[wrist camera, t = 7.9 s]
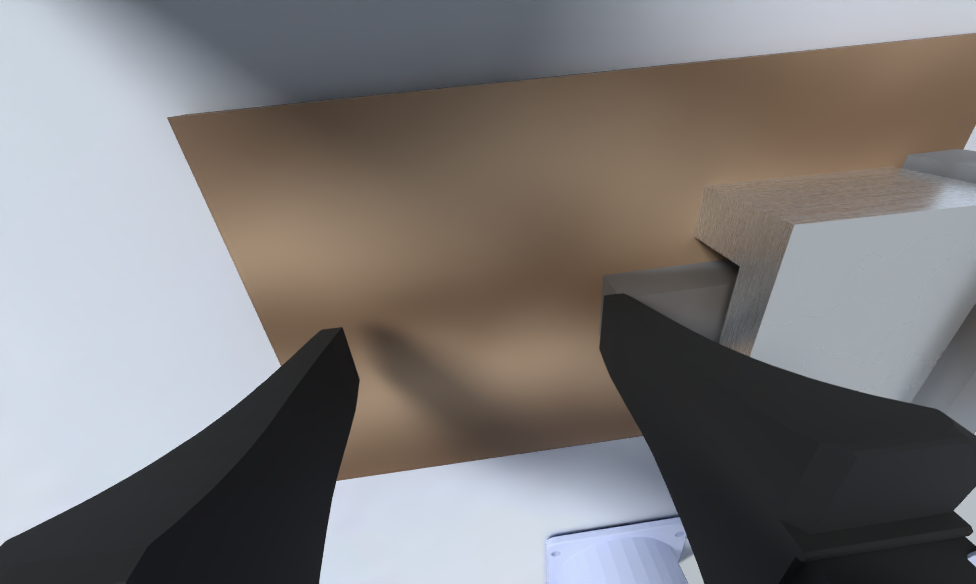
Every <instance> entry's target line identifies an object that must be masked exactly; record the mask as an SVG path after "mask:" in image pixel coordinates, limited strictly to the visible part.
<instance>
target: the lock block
mask: <svg viewBox="0 0 976 584" xmlns="http://www.w3.org/2000/svg"><path fill="white" fill-rule="evenodd" d="M694 237H696V238H697V239H699V240H700V241H702V242H703V243H705V244H706V245H708V246H709V247H711V248H712V249H714V250H715V251H717V252H719V253H720V254H722V255H723V256H725V257H726V258H728V259H729V260H731V261H732V262H734V263H735V264H737V265H738V266H740V268H739V272H738V275H737V279H736V282H735V286H734V289H733V293H732V296H731V300H730V304H729V307H728V311H727V314H726V318H725V321H724V325H723V329H722V332H721V336H720V339H719V344H721V345H723V346H725V347H728V348H730V349H732V350H735V351H737V352H739V353H742V354H744V355H747V356H749V357H752V358H754V359H757V360H759V361H762V362H765V363H767V364H770V365H773V366H776V367H779V368H782V369H785V370H788V371H791V372H794V373H796V374H799V375H802V376H806V377H809V378H812V379H816V380H819V381H822V382H826V383H829V384H833V385H837V386H840V387H844V388H848V389H851V390H855V391H859V392H863V393H867V394H871V395H875V396H880V397H884V398H889V399H894V400H898V401H903V402H907V403H911V401H912V400H913V398H914V397H915V395H916V394H917V392H918V391H919V389H920V387H921V386H922V384H923V383H924V381H925V380H926V378H927V377H928V375H929V374H930V372H931V371H932V369H933V368H934V366H935V364H936V363H937V361H938V360H939V358H940V357H941V355H942V354H943V352H944V351H945V349H946V348H947V346H948V344H949V343H950V341H951V340H952V338H953V337H954V335H955V334H956V332H957V331H958V329H959V328H960V326H961V325H962V323H963V321H964V320H965V318H966V317H967V315H968V314H969V312H970V311H971V309H972V308H973V306H974V305H975V303H976V184H975V183H970V182H965V181H961V180H956V179H951V178H946V177H942V176H937V175H932V174H927V173H922V172H918V171H913V170H908V169H903V168H898V167H885V168H875V169H865V170H855V171H846V172H836V173H826V174H816V175H806V176H796V177H786V178H776V179H766V180H757V181H747V182H737V183H727V184H717V185H707V186H704V189H703V194H702V199H701V204H700V209H699V214H698V219H697V223H696V228H695V233H694Z"/></svg>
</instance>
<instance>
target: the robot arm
mask: <svg viewBox="0 0 976 584" xmlns="http://www.w3.org/2000/svg"><path fill="white" fill-rule="evenodd" d="M599 350H600V353H601V355H602V358H603V361H604V363H605V366H606V368H607V371H608V373H609V375H610V378H611V380H612V381H613V383H614V385H615V387H616V389H617V390H618V392H619V394H620V396H621V398H622V399H623V401H624V403H625V405H626V406H627V408H628V410H629V412H630V413H631V415H632V417H633V419H634V420H635V422H636V424H637V426H638V427H639V429H640V431H641V433H642V434H643V436H644V438H645V440H646V442H647V444H648V446H649V448H650V450H651V452H652V454H653V456H654V458H655V460H656V463H657V465H658V467H659V469H660V472H661V474H662V476H663V479H664V481H665V483H666V485H667V488H668V490H669V493H670V495H671V498H672V500H673V502H674V505H675V507H676V510H677V512H678V515H679V517H677V518H670V519H664V520H658V521H651V522H645V523H639V524H632V525H626V526H620V527H613V528H607V529H600V530H594V531H588V532H581V533H575V534H569V535H562V536H556V537H552V538H549V539H548V540H547V541H546V580H547V584H688V582H687V580H686V578H685V576H684V574H683V572H682V569H681V567H680V565H679V563H678V562H679V559H680V556H681V552H682V549H683V546H684V543H685V539H686V536H687V538H688V540H689V543H690V545H691V548H692V551H693V553H694V556H695V558H696V561H697V564H698V567H699V569H700V572H701V575H702V578H703V581H704V584H976V546H975V545H974V544H973V543H972V542H970V541H969V540H968V539H967V538H966V537H965V536H969V535H970V534H972V532H973V530H972V527H971V526H970V525H969V524H968V523H967V522H966V521H965V520H963V519H962V518H961V517H960V516H959V515H958V514H956V513H955V512H954V511H953V510H954V509H955V508H956V507H957V506H958V505H959V504H960V503H961V502H962V501H963V500H964V499H965V497H966V496H967V495H968V494H969V493H970V492H971V491H972V490H973V489H974V488H975V487H976V435H974V434H973V433H971V432H970V431H968V430H967V429H966V428H964V427H963V426H961V425H960V424H959V423H957V422H956V421H954V420H953V419H952V418H950V417H949V416H947V415H946V414H944V413H943V412H941V411H940V410H938V409H935V408H930V407H926V406H921V405H916V404H912V403H907V402H903V401H898V400H894V399H889V398H884V397H880V396H875V395H871V394H867V393H863V392H859V391H855V390H851V389H848V388H844V387H840V386H837V385H833V384H829V383H826V382H822V381H819V380H816V379H812V378H809V377H806V376H802V375H799V374H796V373H794V372H791V371H788V370H785V369H782V368H779V367H776V366H773V365H770V364H767V363H765V362H762V361H759V360H757V359H754V358H752V357H749V356H747V355H744V354H742V353H739V352H737V351H735V350H732V349H730V348H728V347H725V346H723V345H721V344H719V343H717V342H714V341H712V340H710V339H708V338H706V337H704V336H702V335H700V334H698V333H696V332H694V331H692V330H690V329H688V328H686V327H685V326H683V325H681V324H679V323H677V322H675V321H673V320H672V319H670V318H668V317H666V316H664V315H663V314H661V313H659V312H657V311H656V310H654V309H652V308H650V307H649V306H647V305H645V304H643V303H642V302H640V301H638V300H636V299H634V298H633V297H631V296H629V295H627V294H624V293H621V294H613V295H604V300H603V311H602V322H601V334H600V345H599ZM359 382H360V379H359V376H358V373H357V370H356V366H355V363H354V360H353V357H352V354H351V351H350V348H349V345H348V342H347V339H346V336H345V333H344V330H343V327H339V328H330V329H322V330H320V331H319V332H318V333H317V334H316V335H314V336H313V337H312V338H311V339H310V340H309V341H308V342H307V343H306V344H305V345H304V346H303V347H301V348H300V349H299V350H298V351H297V352H296V353H295V354H294V355H293V356H292V357H291V358H290V359H289V360H288V361H286V362H285V363H284V364H283V365H282V366H281V367H280V368H279V369H278V370H277V371H276V372H275V373H274V374H272V375H271V376H270V377H269V378H268V379H267V380H266V381H264V382H263V383H262V384H261V385H260V386H258V387H257V388H256V389H255V390H254V391H253V392H251V393H250V394H249V395H248V396H247V397H246V398H244V399H243V400H242V401H241V402H240V403H238V404H237V405H236V406H235V407H233V408H232V409H231V410H229V411H228V412H227V413H226V414H224V415H223V416H222V417H220V418H219V419H217V420H216V421H215V422H213V423H212V424H211V425H209V426H208V427H206V428H205V429H204V430H202V431H201V432H199V433H198V434H196V435H195V436H194V437H192V438H190V439H189V440H187V441H186V442H184V443H183V444H181V445H180V446H178V447H177V448H175V449H173V450H172V451H170V452H169V453H167V454H166V455H164V456H163V457H161V458H160V459H158V460H156V461H155V462H153V463H152V464H150V465H148V466H147V467H145V468H143V469H142V470H140V471H138V472H136V473H135V474H133V475H131V476H130V477H128V478H126V479H125V480H123V481H121V482H119V483H117V484H116V485H114V486H112V487H110V488H108V489H107V490H105V491H103V492H101V493H99V494H98V495H96V496H94V497H92V498H90V499H88V500H86V501H85V502H83V503H81V504H79V505H77V506H75V507H73V508H71V509H69V510H67V511H65V512H63V513H61V514H59V515H57V516H55V517H53V518H51V519H49V520H47V521H45V522H43V523H41V524H39V525H37V526H35V527H33V528H31V529H29V530H27V531H25V532H23V533H21V534H19V535H17V536H15V537H13V538H11V539H9V540H7V541H6V542H4V543H3V544H2V545H1V546H0V584H319V579H320V571H321V565H322V558H323V551H324V544H325V538H326V531H327V526H328V520H329V514H330V508H331V502H332V497H333V493H334V488H335V484H336V480H337V477H338V473H339V470H340V466H341V462H342V459H343V455H344V452H345V448H346V445H347V441H348V437H349V434H350V430H351V426H352V423H353V419H354V415H355V411H356V405H357V398H358V390H359Z"/></svg>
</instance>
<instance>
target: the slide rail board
mask: <svg viewBox="0 0 976 584" xmlns="http://www.w3.org/2000/svg"><path fill="white" fill-rule="evenodd" d="M167 119H168V121H169V123H170V125H171V127H172V130H173V132H174V134H175V136H176V138H177V140H178V143H179V145H180V147H181V149H182V151H183V153H184V156H185V158H186V160H187V162H188V164H189V166H190V169H191V171H192V173H193V175H194V177H195V180H196V182H197V184H198V186H199V188H200V190H201V193H202V195H203V197H204V199H205V201H206V203H207V206H208V208H209V210H210V212H211V214H212V217H213V219H214V221H215V223H216V225H217V227H218V230H219V232H220V234H221V236H222V238H223V240H224V243H225V245H226V247H227V249H228V251H229V254H230V256H231V258H232V260H233V262H234V264H235V267H236V269H237V271H238V273H239V275H240V277H241V280H242V282H243V284H244V286H245V288H246V291H247V293H248V295H249V297H250V299H251V301H252V304H253V306H254V308H255V310H256V312H257V314H258V317H259V319H260V321H261V323H262V325H263V328H264V330H265V332H266V334H267V336H268V338H269V341H270V343H271V345H272V347H273V349H274V351H275V354H276V356H277V358H278V360H279V362H280V365H281V366H282V365H283V364H284V363H285V362H286V361H288V360H289V359H290V358H291V357H292V356H293V355H294V354H295V353H296V352H297V351H298V350H299V349H300V348H301V347H303V346H304V345H305V344H306V343H307V342H308V341H309V340H310V339H311V338H312V337H313V336H314V335H316V334H317V333H318V332H319V331H320V330H322V329H330V328H339V327H343V330H344V333H345V336H346V339H347V342H348V345H349V348H350V351H351V354H352V357H353V360H354V363H355V366H356V370H357V373H358V376H359V379H360V382H359V390H358V398H357V405H356V411H355V415H354V419H353V423H352V426H351V430H350V434H349V437H348V441H347V445H346V448H345V452H344V455H343V459H342V462H341V466H340V470H339V473H338V477H337V480H336V481H339V480H346V479H352V478H359V477H366V476H373V475H380V474H386V473H393V472H400V471H407V470H414V469H420V468H427V467H434V466H441V465H448V464H454V463H461V462H468V461H475V460H482V459H488V458H495V457H502V456H509V455H516V454H523V453H529V452H536V451H543V450H550V449H557V448H563V447H570V446H577V445H584V444H591V443H597V442H604V441H611V440H618V439H625V438H631V437H638V436H643V434H642V433H641V431H640V429H639V427H638V426H637V424H636V422H635V420H634V419H633V417H632V415H631V413H630V412H629V410H628V408H627V406H626V405H625V403H624V401H623V399H622V398H621V396H620V394H619V392H618V390H617V389H616V387H615V385H614V383H613V381H612V380H611V378H610V375H609V373H608V371H607V368H606V366H605V363H604V361H603V358H602V355H601V353H600V350H599V345H600V334H601V322H602V311H603V300H604V295H613V294H621V293H624V294H627V295H629V296H631V297H633V298H634V299H636V300H638V301H640V302H642V303H643V304H645V305H647V306H649V307H650V308H652V309H654V310H656V311H657V312H659V313H661V314H663V315H664V316H666V317H668V318H670V319H672V320H673V321H675V322H677V323H679V324H681V325H683V326H685V327H686V328H688V329H690V330H692V331H694V332H696V333H698V334H700V335H702V336H704V337H706V338H708V339H710V340H712V341H714V342H717V343H719V339H720V336H721V332H722V329H723V325H724V321H725V318H726V314H727V311H728V307H729V304H730V300H731V296H732V293H733V289H734V286H735V282H736V279H737V275H738V272H739V268H740V266H738V265H737V264H735V263H734V262H732V261H731V260H729V259H728V258H726V257H725V256H723V255H722V254H720V253H719V252H717V251H715V250H714V249H712V248H711V247H709V246H708V245H706V244H705V243H703V242H702V241H700V240H699V239H697V238H696V237H694V233H695V228H696V223H697V219H698V214H699V209H700V204H701V199H702V194H703V189H704V186H707V185H717V184H727V183H737V182H747V181H757V180H766V179H776V178H786V177H796V176H806V175H816V174H826V173H836V172H846V171H855V170H865V169H875V168H885V167H898V168H903V169H908V170H913V171H918V172H922V173H927V174H932V175H937V176H942V177H946V178H951V179H956V180H961V181H965V182H970V183H975V184H976V152H975V151H969V150H963V149H964V147H965V145H966V143H967V141H968V139H969V137H970V135H971V133H972V131H973V129H974V127H975V125H976V33H972V34H962V35H952V36H942V37H933V38H923V39H913V40H904V41H894V42H884V43H875V44H865V45H855V46H845V47H836V48H826V49H816V50H807V51H797V52H787V53H778V54H768V55H758V56H748V57H739V58H729V59H719V60H710V61H700V62H690V63H681V64H671V65H661V66H651V67H642V68H632V69H622V70H613V71H603V72H593V73H584V74H574V75H564V76H555V77H545V78H535V79H525V80H516V81H506V82H496V83H487V84H477V85H467V86H458V87H448V88H438V89H428V90H419V91H409V92H399V93H390V94H380V95H370V96H361V97H351V98H341V99H331V100H322V101H312V102H302V103H293V104H283V105H273V106H264V107H254V108H244V109H234V110H225V111H215V112H205V113H196V114H186V115H180V116H174V117H168V118H167ZM911 403H912V404H916V405H921V406H926V407H930V408H935V409H938V410H940V411H941V412H943V413H944V414H946V415H947V416H949V417H950V418H952V419H953V420H954V421H956V422H957V423H959V424H960V425H961V426H963V427H964V428H966V429H967V430H968V431H970V432H971V433H973V434H974V433H975V432H976V303H975V305H974V306H973V308H972V309H971V311H970V312H969V314H968V315H967V317H966V318H965V320H964V321H963V323H962V325H961V326H960V328H959V329H958V331H957V332H956V334H955V335H954V337H953V338H952V340H951V341H950V343H949V344H948V346H947V348H946V349H945V351H944V352H943V354H942V355H941V357H940V358H939V360H938V361H937V363H936V364H935V366H934V368H933V369H932V371H931V372H930V374H929V375H928V377H927V378H926V380H925V381H924V383H923V384H922V386H921V387H920V389H919V391H918V392H917V394H916V395H915V397H914V398H913V400H912V401H911Z"/></svg>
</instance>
